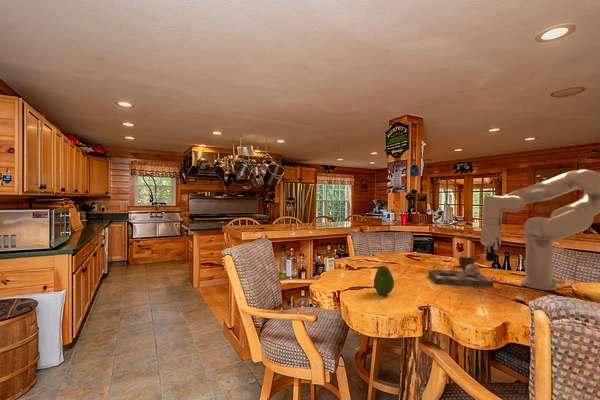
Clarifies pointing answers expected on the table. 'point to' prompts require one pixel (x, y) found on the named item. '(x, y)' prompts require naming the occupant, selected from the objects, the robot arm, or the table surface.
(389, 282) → the avocado
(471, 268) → the maple ball
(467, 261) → the cup
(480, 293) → the table surface
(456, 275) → the track board
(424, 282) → the table surface
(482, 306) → the table surface
